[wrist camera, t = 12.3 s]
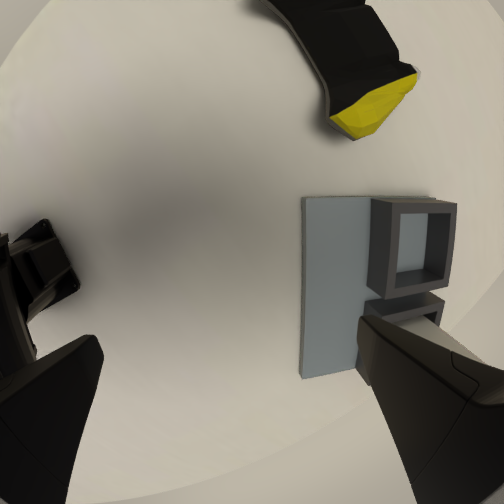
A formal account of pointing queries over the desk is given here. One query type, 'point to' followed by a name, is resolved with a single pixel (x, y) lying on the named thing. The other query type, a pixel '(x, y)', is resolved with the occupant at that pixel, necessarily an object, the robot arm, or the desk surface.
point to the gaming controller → (350, 60)
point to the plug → (435, 335)
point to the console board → (368, 270)
